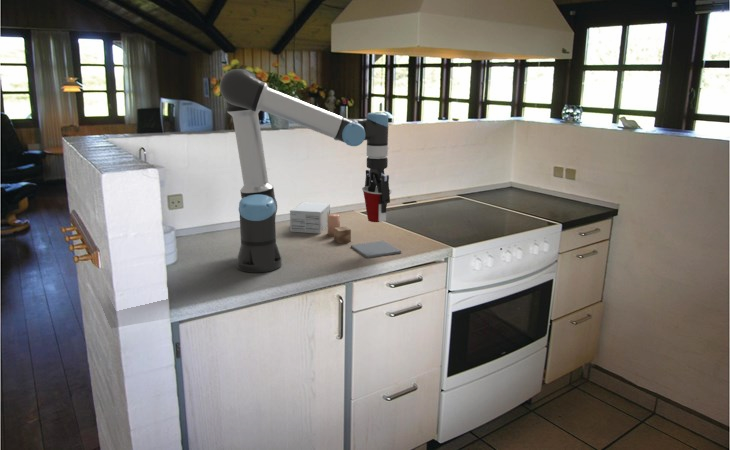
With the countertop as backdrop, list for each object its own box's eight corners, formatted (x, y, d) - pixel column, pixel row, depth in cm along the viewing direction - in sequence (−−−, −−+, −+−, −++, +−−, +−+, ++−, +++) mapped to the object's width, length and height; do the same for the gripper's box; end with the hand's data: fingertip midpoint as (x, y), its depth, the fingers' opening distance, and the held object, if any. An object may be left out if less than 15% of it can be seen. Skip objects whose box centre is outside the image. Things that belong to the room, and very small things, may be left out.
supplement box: (320, 234, 225) (320, 212, 223) (290, 232, 228) (289, 210, 225) (330, 223, 241) (330, 202, 239) (301, 221, 244) (301, 201, 241)
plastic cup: (388, 225, 196) (389, 192, 193) (359, 223, 198) (359, 190, 195) (393, 217, 206) (393, 186, 203) (365, 216, 208) (365, 184, 205)
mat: (367, 258, 196) (367, 255, 196) (350, 247, 208) (350, 245, 208) (401, 253, 202) (401, 250, 202) (383, 242, 214) (383, 240, 214)
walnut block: (339, 243, 213) (339, 231, 212) (334, 239, 218) (334, 227, 216) (350, 241, 215) (350, 229, 214) (345, 238, 220) (345, 226, 218)
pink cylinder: (330, 236, 222) (330, 217, 220) (325, 233, 226) (325, 214, 224) (341, 234, 224) (341, 215, 222) (336, 231, 228) (336, 213, 226)
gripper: (401, 160, 188) (399, 224, 194) (373, 152, 207) (372, 210, 213) (381, 161, 185) (380, 226, 191) (355, 153, 204) (354, 212, 210)
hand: (376, 218), depth 202 cm, fingers closed on plastic cup, 9 cm apart
